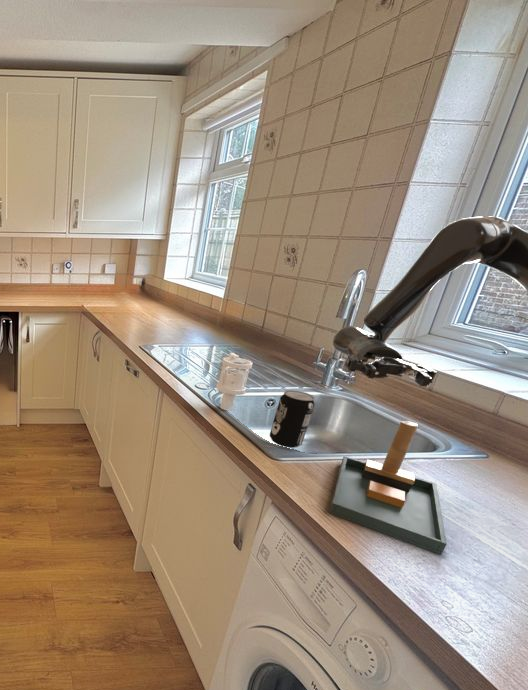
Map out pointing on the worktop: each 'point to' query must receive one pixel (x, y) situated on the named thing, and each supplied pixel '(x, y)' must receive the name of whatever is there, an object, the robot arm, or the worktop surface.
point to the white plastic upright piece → (232, 379)
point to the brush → (394, 461)
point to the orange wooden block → (386, 494)
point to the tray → (390, 508)
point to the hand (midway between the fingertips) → (399, 377)
